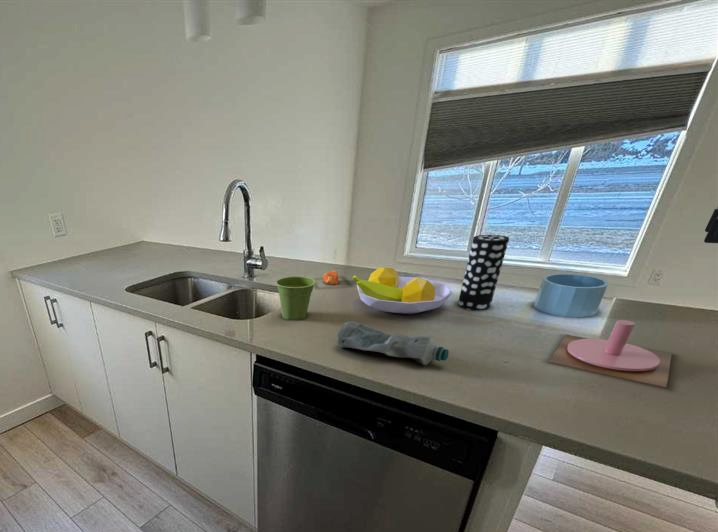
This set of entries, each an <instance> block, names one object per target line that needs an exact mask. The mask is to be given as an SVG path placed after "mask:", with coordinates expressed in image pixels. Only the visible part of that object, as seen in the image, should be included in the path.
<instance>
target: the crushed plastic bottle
mask: <svg viewBox="0 0 718 532" xmlns="http://www.w3.org/2000/svg"><path fill="white" fill-rule="evenodd" d="M337 345H338V348H340V349H345V348H350V349H354V350H355V349H356V350H361V351H364V352H365V351H367V352H368V351H369V352H374V353H375V352H376V353H381V354H384V355H386V356H389V357H395V358H405V359H406V358H411V359H413V360H414V361H416V362H417V363H419V364H420V365H423V366H427V365H429V363H430V362H431V361H432V360H434V361H438V362H440V361H447V359H448V358H449V353H450V351H449V349H446V348H445V347H443V346H437V344H436V341H435V339H434V338H432V337H430V336H408V335H406V334H403V333H394V334H392V335H391V334H389V333H386V332H383V331H380V330H377V329H374V328H372V327H369V326H367V325H365V324H362V323H359V322H357V321H354V320H348V321H346V322H344V323H343V325H342V326H341V328H340V329H339V330H338V332H337Z"/></svg>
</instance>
